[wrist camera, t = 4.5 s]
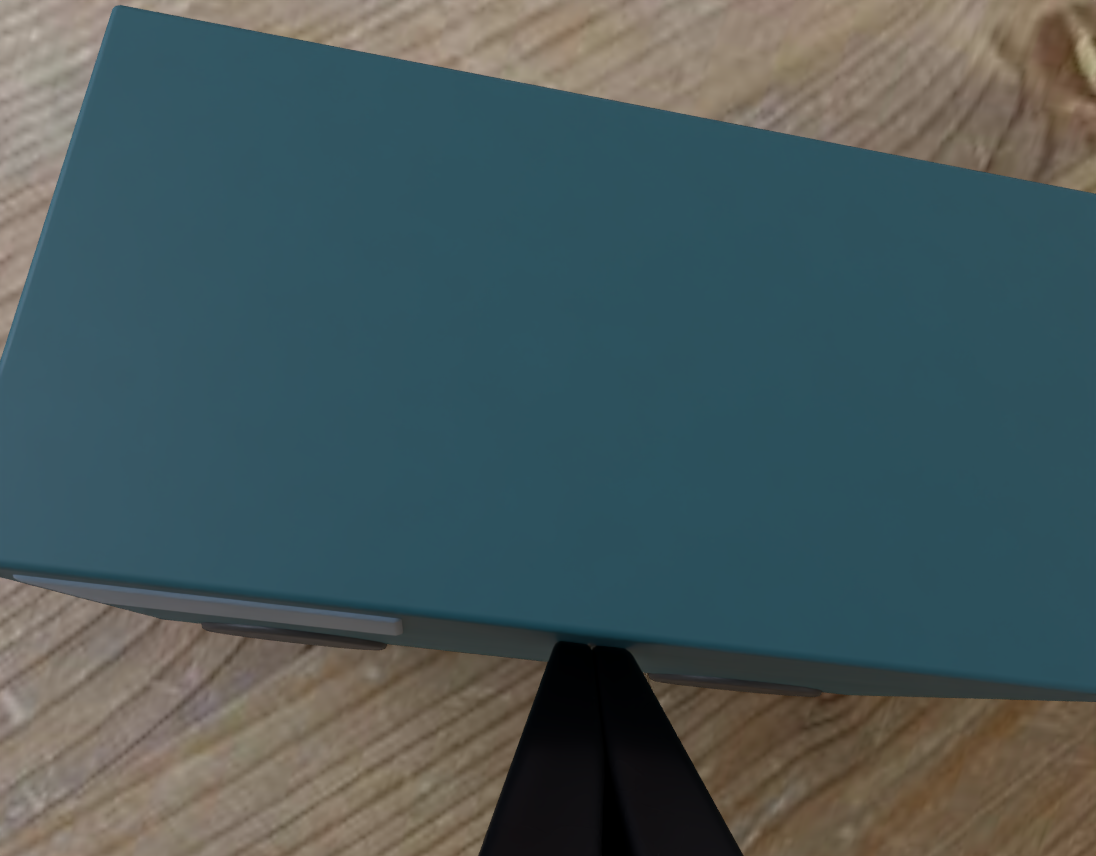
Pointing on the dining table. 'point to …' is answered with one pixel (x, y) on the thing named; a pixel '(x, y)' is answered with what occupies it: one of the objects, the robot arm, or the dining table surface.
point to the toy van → (550, 380)
